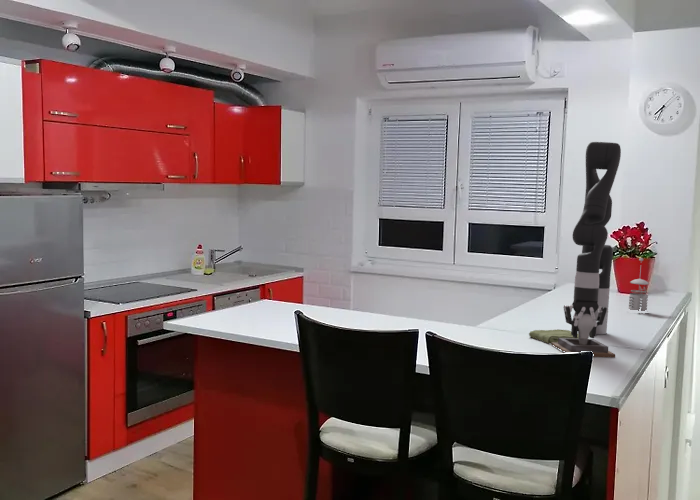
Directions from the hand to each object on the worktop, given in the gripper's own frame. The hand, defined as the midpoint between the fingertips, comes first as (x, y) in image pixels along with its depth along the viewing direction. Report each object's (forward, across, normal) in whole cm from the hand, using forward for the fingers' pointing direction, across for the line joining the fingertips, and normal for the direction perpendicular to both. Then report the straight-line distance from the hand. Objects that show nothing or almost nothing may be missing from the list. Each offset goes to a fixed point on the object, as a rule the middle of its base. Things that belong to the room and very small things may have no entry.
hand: (583, 337), depth 226 cm
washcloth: (+5, +1, -18) cm, 19 cm away
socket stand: (+5, 0, 0) cm, 5 cm away
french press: (+5, -61, -87) cm, 106 cm away
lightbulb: (+3, 0, 0) cm, 3 cm away
